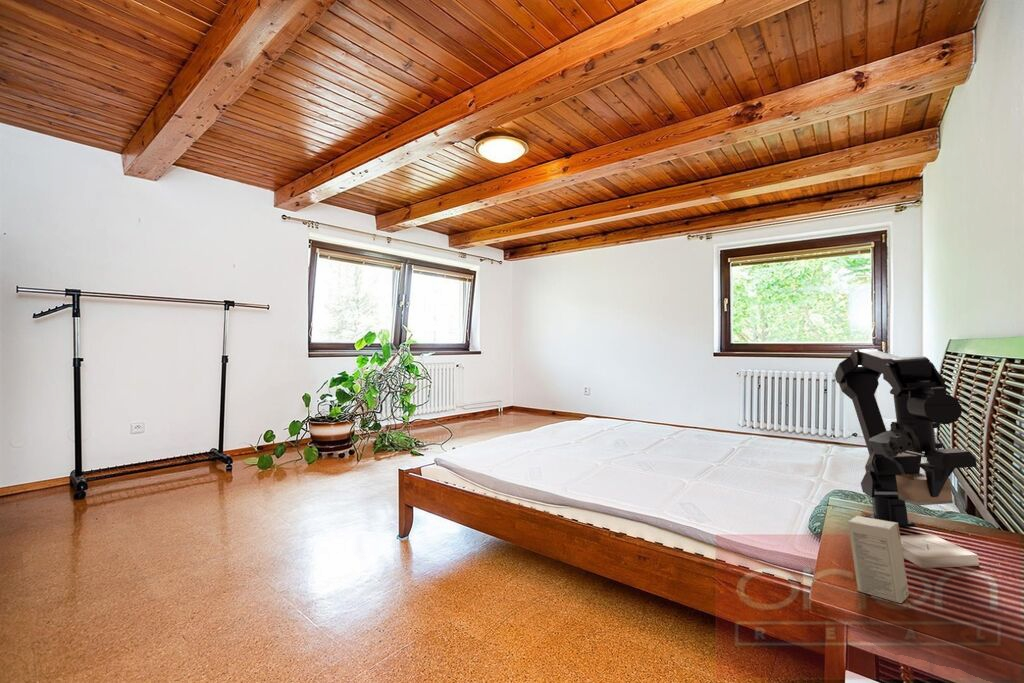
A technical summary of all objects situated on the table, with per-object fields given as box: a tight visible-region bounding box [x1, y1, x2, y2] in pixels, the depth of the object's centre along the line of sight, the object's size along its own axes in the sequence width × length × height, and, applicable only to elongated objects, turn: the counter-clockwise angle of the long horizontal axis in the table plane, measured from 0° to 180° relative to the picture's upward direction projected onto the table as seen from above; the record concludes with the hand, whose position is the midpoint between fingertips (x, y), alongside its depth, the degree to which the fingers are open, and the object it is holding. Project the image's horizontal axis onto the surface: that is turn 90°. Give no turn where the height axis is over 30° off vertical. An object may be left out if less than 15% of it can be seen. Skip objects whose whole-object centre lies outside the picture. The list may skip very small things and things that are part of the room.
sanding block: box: [896, 472, 954, 507], centre depth 93 cm, size 4×7×5 cm, turn 88°
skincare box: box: [847, 515, 910, 604], centre depth 78 cm, size 6×4×12 cm
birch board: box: [900, 533, 980, 569], centre depth 90 cm, size 10×10×2 cm
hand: (923, 493), depth 92 cm, fingers closed on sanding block, 4 cm apart
